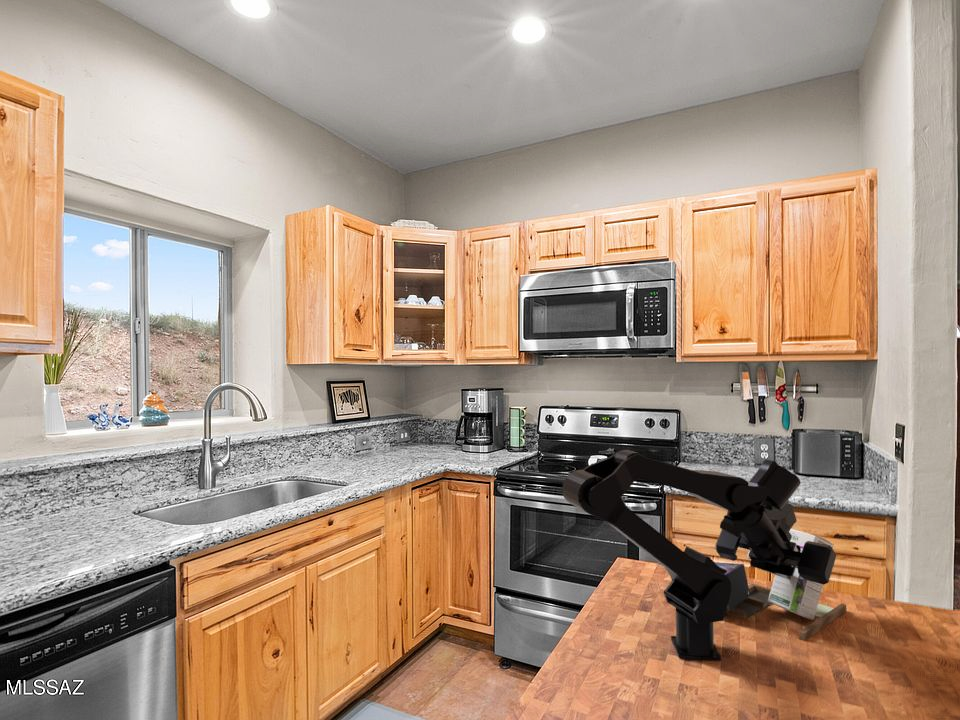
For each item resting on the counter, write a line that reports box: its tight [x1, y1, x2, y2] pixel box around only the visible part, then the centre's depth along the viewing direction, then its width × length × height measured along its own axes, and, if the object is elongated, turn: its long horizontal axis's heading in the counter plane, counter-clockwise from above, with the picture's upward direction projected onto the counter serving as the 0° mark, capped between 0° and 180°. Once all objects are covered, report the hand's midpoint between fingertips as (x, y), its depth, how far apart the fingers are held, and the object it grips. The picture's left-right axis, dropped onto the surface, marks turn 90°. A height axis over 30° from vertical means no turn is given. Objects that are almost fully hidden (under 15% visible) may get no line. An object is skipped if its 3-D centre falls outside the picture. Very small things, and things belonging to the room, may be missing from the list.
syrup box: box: [768, 528, 834, 621], centre depth 101 cm, size 6×6×14 cm
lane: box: [725, 583, 847, 642], centre depth 103 cm, size 18×16×1 cm
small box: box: [670, 562, 750, 611], centre depth 106 cm, size 11×6×10 cm
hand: (788, 576), depth 100 cm, fingers closed
